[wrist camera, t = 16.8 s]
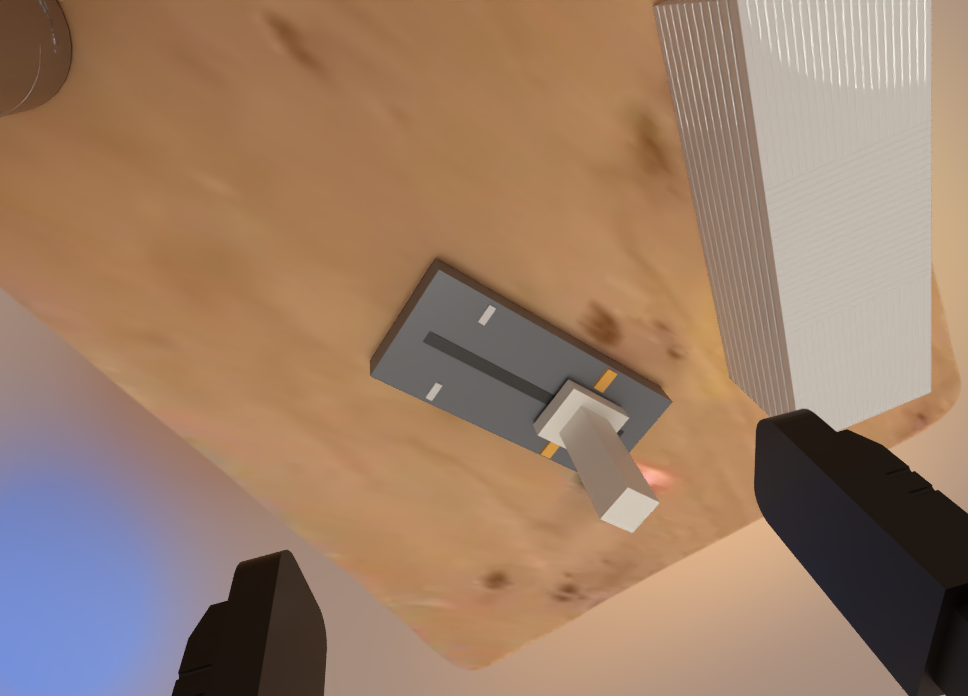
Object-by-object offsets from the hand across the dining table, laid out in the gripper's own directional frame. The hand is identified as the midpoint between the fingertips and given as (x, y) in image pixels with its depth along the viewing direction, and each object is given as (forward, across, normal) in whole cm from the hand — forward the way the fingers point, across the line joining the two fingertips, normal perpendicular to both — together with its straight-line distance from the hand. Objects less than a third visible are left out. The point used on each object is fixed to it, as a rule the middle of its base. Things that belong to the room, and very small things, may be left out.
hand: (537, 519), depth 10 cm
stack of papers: (+37, +26, -9) cm, 46 cm away
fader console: (+36, +5, -20) cm, 42 cm away
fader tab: (+33, +8, -24) cm, 41 cm away
